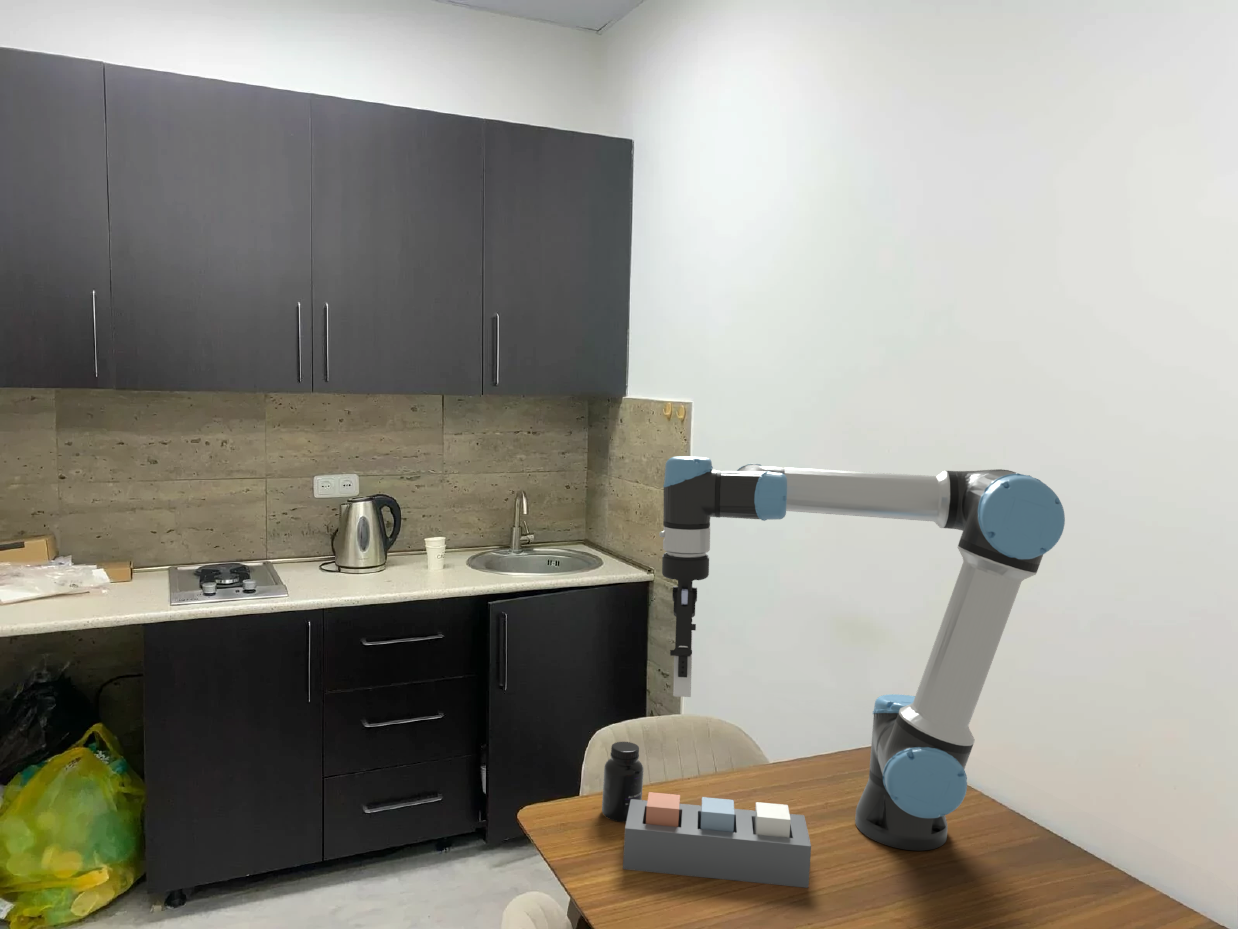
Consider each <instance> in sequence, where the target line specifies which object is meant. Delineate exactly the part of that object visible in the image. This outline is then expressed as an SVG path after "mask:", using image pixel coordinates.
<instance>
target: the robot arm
mask: <svg viewBox="0 0 1238 929" xmlns="http://www.w3.org/2000/svg"><path fill="white" fill-rule="evenodd" d="M664 465H665V468H664V483H663V487H662V488H663V512H662V513H663V518H662V519H663V524H662V525H663V531H659V533H658V534H659V538H663V540H662V549H663V550H664V551H665V552H664V553H663V554H662V558H661V561H662V563H661V574H662V576H663V577H664V578H666V579H669V580H676V581H677V586H676V585H675V586H674V585H673V586H672V597H671V598H672V601H673V610H672V611H673V616H674V617H675V641H674V642H675V648H674V649H670V650H669V651H670V653H669V655H670V657H671V656H673V686H672V687H673V689H672V690H673V692H672V693H673V694H672V696H673V697H680V698H681V697H683V698H691V697H692V666H693V665H692V663H693V662H692V661H693V657H692V656H693V648H692V647H693V631H697V629H696V628H697V627H696V626H697V624H696V623H693V618H694V617H695V616H696V603H697V601H698V587H697V586H693V581H701V580H706V579H707V578H709V575H710V556H709V555H708V552H709V551H710V550H711V518H718V519H719V518H731V519H746V520H747V519H749V520H750V519H751V520H761V521H764V522H765V521H768V520H782V519H784V518H785V517H786V516H787V515H786V514H787V512H796V513H809V514H811V513H812V514H823V515H824V514H825V515H839V516H851V517H867V518H877V519H878V518H879V519H880V518H881V519H893V520H895V519H896V520H906V521H907V520H908V521H923V522H924V521H925V522H934V523H935V524H936V525H937V526H938V527H939V528H940V529H950V530H951V529H952V530H959V531H962V533H961V536H960V539H959V541H958V544H957V549H958V552H959V554H960V555H961V557H962V565H961V567H960V571H959V573H958V575H957V578H956V581H955V584H954V587H953V591H951V592H952V593H951V596H950V598H949V601H948V604H947V607H946V610H945V612H944V615H943V618H942V621H941V623H940V627H939V629H938V632H937V635H936V638H935V640H934V643H933V646H932V649H931V651H930V654H929V657H928V660H927V662H926V666H925V668H924V671H923V675H922V677H921V680H920V681H919V682H920V683H919V686H918V687H917V691H916V694H915V695H909V694H908V695H907V694H894V693H893V694H883V695H880V696H879V697H877V698H876V699H875V700H874V701H875V702H874V707H873V711H872V715H873V718H872V719H873V720H872V733H871V743H870V744H871V745H870V746H871V748H870V758H869V760H870V761H869V773H868V779H867V780H868V781H867V782H866V785H865V787H864V789H863V791H862V794H861V796H860V798H859V800H858V803H857V805H856V808H855V818H854V822H855V825H856V828H857V829H858V830H859V831H860V832H861V833H862V834H864V836H866V837H868V839H869V838H870V839H871V840H873V841H875V842H877V843H880V844H881V845H885V846H888V847H892V848H895V849H899V850H900V849H901V850H907V851H916V852H917V851H931V850H934V849H938V848H940V847H942V846H943V845H944V844H946V842H947V839H948V838H947V837H948V829H949V828H948V821H947V818H946V816H947V815H949V814H951V813H953V812H954V811H956V810H957V809H958V808H959V807H960V806H961V804H962V803H963V801H964V799H965V797H966V795H967V789H968V777H967V772H966V770H965V769H966V766H967V763H968V760H969V758H970V755H971V752H972V749H973V746H974V744H975V737H974V735H973V734H972V732H971V730H970V723H971V720H972V718H973V715H974V712H975V710H976V706H977V705H978V701H979V698H980V696H981V693H982V690H983V687H984V685H985V682H986V679H987V677H988V673H989V672H990V669H991V666H992V663H993V660H994V658H995V655H996V652H997V650H998V646H999V645H1000V641H1001V638H1002V636H1003V634H1004V631H1005V628H1006V625H1007V623H1008V620H1009V617H1010V614H1011V611H1012V608H1013V606H1014V603H1015V601H1016V597H1017V594H1018V593H1019V589H1020V587H1021V584H1022V582H1023V581H1024V580H1026V579H1029V578H1031V577H1034V576H1036V575H1037V573H1038V571H1039V568H1040V565H1041V562H1042V560H1043V557H1044V555H1045V554H1047V552H1049V551H1051V550H1052V549H1053V548H1054V547H1055V546H1056V545H1057V543H1058V542H1059V540H1060V539H1061V537H1062V535H1063V533H1064V529H1065V524H1066V519H1065V518H1066V517H1065V511H1064V507H1063V503H1062V502H1061V500H1060V498H1059V496H1058V494H1057V493H1056V492H1055V491H1054V490H1053V489H1052V488H1050V487H1049V486H1048V485H1047V484H1046V483H1044V482H1043V481H1041V480H1040V479H1039V478H1036V477H1033V476H1032V475H1027V474H1023V473H1018V472H1015V471H1013V470H1009V469H1002V468H1001V469H981V470H942V471H941V472H940V473H938V474H937V475H921V474H908V473H906V474H905V473H890V472H889V473H888V472H887V473H885V472H875V471H874V472H871V471H854V470H838V469H835V470H834V469H820V468H802V467H801V468H800V467H787V466H786V467H779V466H769V465H768V466H766V465H765V466H764V465H762V464H758V463H747V464H745V465H742V466H740V467H739V468H738V469H736V470H718V469H713V468H714V467H713V463H712V460H711V458H710V457H705V456H684V455H681V456H680V455H679V456H672V457H670V458H668V459H667V460H666V462H665V464H664Z"/></svg>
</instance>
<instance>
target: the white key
mask: <svg viewBox="0 0 1238 929" xmlns="http://www.w3.org/2000/svg"><path fill="white" fill-rule="evenodd" d="M754 809H755V810H754V811H755V823H754V834H755V835H766V836H776V837H786V838H789V835H790V821H791V820H790V814H791V813H790V810H789V809H790V808H789V805H788V804H782V803H781V804H780V803H769V802H760V801H759V802H758V801H757V802H756V801H755V808H754Z"/></svg>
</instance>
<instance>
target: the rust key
mask: <svg viewBox="0 0 1238 929" xmlns="http://www.w3.org/2000/svg"><path fill="white" fill-rule="evenodd" d="M680 800H681V794H674V793H673V794H672V793H663V792H651V791H649V792H648V796H647V810H646V824H651V825H662V826H672V827H678V823H679V805H680V804H681V802H680Z"/></svg>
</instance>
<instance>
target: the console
mask: <svg viewBox="0 0 1238 929" xmlns="http://www.w3.org/2000/svg"><path fill="white" fill-rule="evenodd" d="M647 801H648V799H647V800H645V799H642V800H636V799H631V801H630V806H629V811H628V816H627V821H626V822H625V826H624V839H623V840H624V843H623V862H622V869H623V870H628V871H637V872H639V871H640V872H648V873H656V874H657V873H658V874H666V875H667V874H668V875H677V876H686V877H687V876H688V877H696V878H697V877H698V878H707V879H708V878H709V879H717V880H718V879H719V880H726V881H727V880H729V881H737V882H747V883H756V884H767V885H775V886H777V885H778V886H787V887H795V888H806V889H807V888H809V884H810V883H809V882H810V870H811V854H812V845H811V844H812V843H811V841H810V836H809V834H810V833H809V830H808V826H807V822H806V818H805V815H804V814H795V813H794V814H793V813H789V814H790V820H791V821H790V835H789V838H786V837H776V836H766V835H755V834H754V823H755V810H750V809H740V808H734V830H733V832H724V831H714V830H703V829H700V823H701V806H702V805H698V804H689V803H680V805H679V823H678V827H672V826H662V825H651V824H646V810H647Z"/></svg>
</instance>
